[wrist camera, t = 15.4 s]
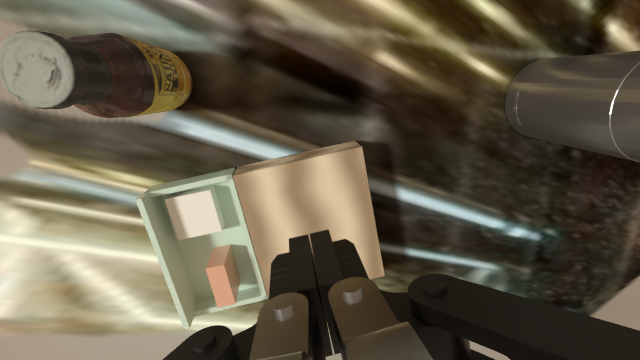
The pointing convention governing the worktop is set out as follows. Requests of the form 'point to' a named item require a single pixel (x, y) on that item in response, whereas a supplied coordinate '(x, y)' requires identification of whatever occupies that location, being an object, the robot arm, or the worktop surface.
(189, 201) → the white tile
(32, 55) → the sauce bottle
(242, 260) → the box
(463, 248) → the worktop surface
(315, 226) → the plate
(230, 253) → the terracotta tile
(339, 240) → the robot arm
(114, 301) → the worktop surface
